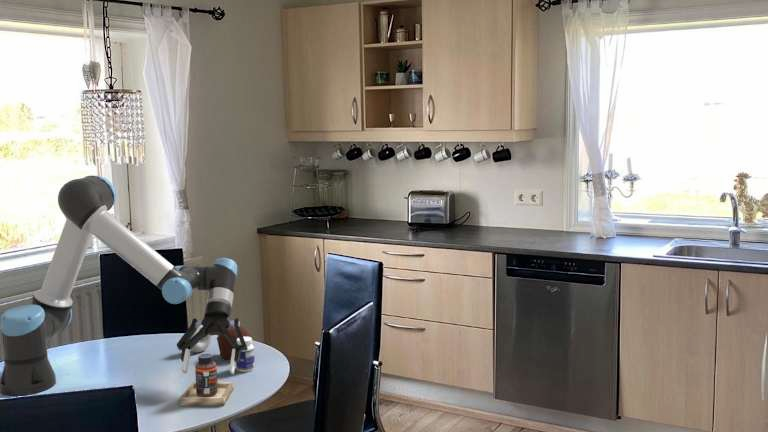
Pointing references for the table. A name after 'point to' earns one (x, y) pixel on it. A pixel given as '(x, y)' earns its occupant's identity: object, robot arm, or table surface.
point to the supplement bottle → (206, 376)
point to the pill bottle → (246, 356)
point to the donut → (201, 342)
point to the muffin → (225, 345)
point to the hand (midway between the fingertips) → (207, 371)
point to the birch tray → (216, 400)
